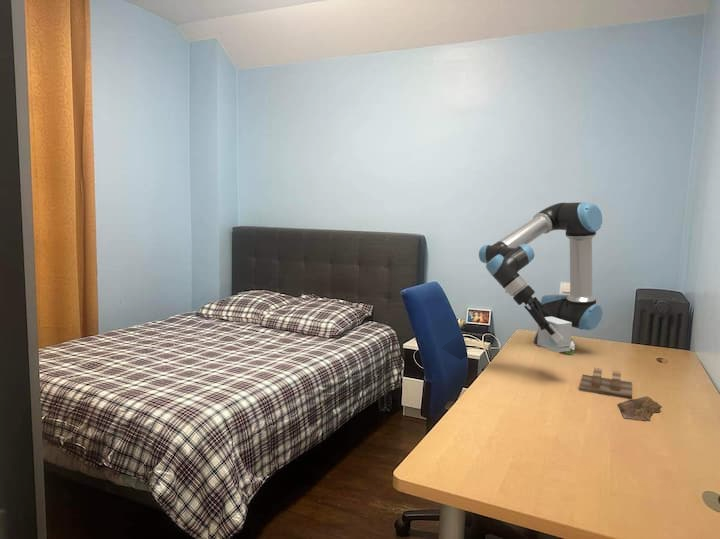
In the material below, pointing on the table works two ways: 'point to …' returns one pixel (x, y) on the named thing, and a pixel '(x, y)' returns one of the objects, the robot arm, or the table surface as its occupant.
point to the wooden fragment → (639, 409)
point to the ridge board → (606, 384)
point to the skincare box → (561, 328)
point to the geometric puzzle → (571, 347)
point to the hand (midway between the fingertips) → (562, 337)
